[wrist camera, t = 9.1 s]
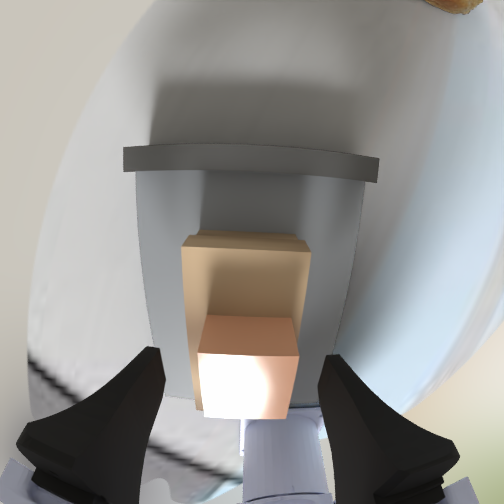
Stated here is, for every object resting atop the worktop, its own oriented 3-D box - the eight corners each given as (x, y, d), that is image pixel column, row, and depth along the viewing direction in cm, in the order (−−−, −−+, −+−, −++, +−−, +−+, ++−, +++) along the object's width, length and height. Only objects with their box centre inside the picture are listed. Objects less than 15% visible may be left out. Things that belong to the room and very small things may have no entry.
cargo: (281, 381, 13) (286, 419, 11) (210, 378, 13) (204, 416, 11) (291, 317, 12) (299, 356, 9) (206, 314, 12) (197, 352, 9)
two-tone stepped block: (278, 368, 18) (282, 413, 14) (204, 365, 18) (196, 409, 14) (296, 224, 14) (311, 252, 11) (199, 220, 14) (181, 246, 11)
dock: (313, 385, 21) (320, 416, 18) (170, 379, 21) (161, 410, 18) (354, 155, 15) (379, 158, 12) (148, 146, 15) (123, 147, 11)
